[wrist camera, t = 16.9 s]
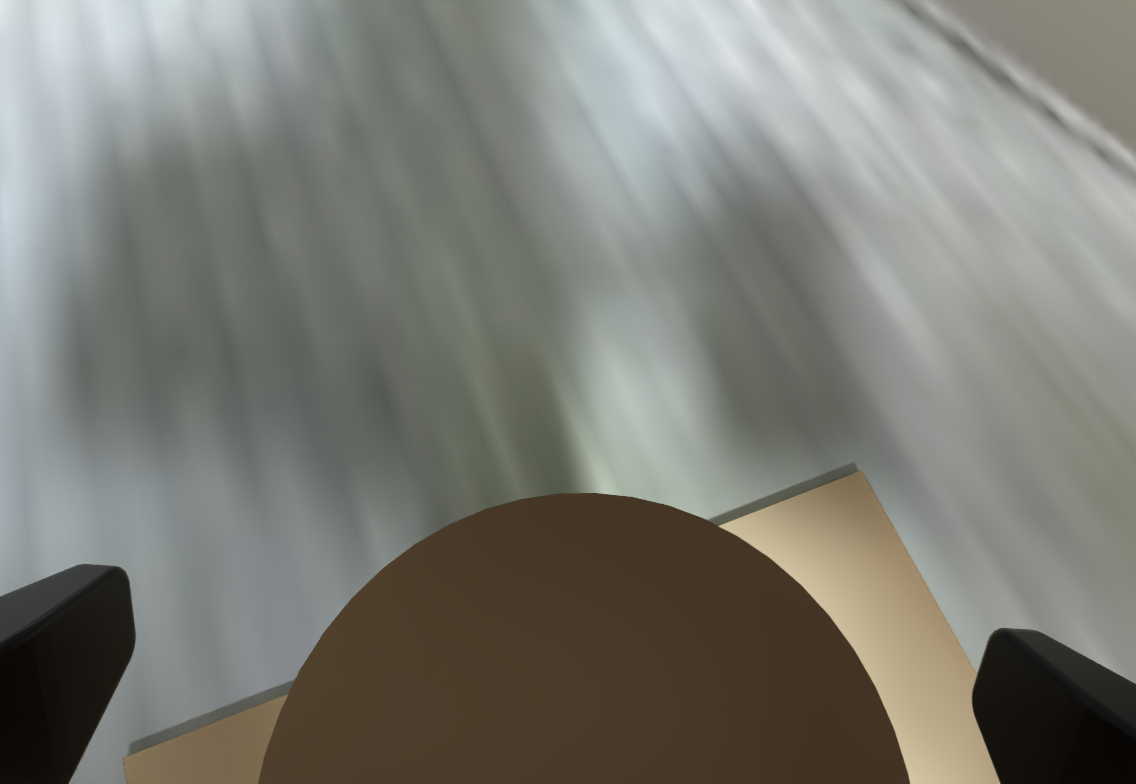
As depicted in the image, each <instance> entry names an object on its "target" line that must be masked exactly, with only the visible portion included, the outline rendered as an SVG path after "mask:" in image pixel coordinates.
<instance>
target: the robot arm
mask: <svg viewBox="0 0 1136 784" xmlns="http://www.w3.org/2000/svg"><path fill="white" fill-rule="evenodd" d="M135 639H136V631H135V623H134V615H133V607H132V599H131V590H130V582H129V578H128V575H127V573H126V571H124V570H123V569H122V568H120V567H118V566H107V565H93V564H81V565H77V566H74V567H72V568H69V569H67V570H64V571H62V572H59V573H57V574H54V575H52V576H49V577H47V578H45V579H42V580H40V581H37V582H35V583H32V584H30V585H27V586H25V587H23V588H20V589H18V590H15V591H13V592H10V593H8V594H5V595H3V596H1V597H0V784H69V782H70V780H71V778H72V776H73V775H74V773H75V771H76V769H77V767H78V764H79V762H80V760H81V758H82V756H83V754H84V752H85V750H86V748H87V746H88V744H89V742H90V740H91V738H92V736H93V734H94V732H95V730H96V728H97V726H98V724H99V722H100V720H101V718H102V716H103V714H104V712H105V710H106V708H107V706H108V704H109V702H110V700H111V698H112V696H113V694H114V692H115V690H116V688H117V686H118V684H119V682H120V680H121V678H122V676H123V674H124V672H125V670H126V668H127V666H128V664H129V662H130V659H131V657H132V654H133V651H134V647H135ZM972 709H973V713H974V717H975V719H976V722H977V725H978V727H979V730H980V732H981V735H982V738H983V740H984V743H985V745H986V748H987V751H988V753H989V756H990V759H991V761H992V764H993V766H994V769H995V772H996V774H997V777H998V779H999V782H1000V784H1136V684H1135V683H1133V682H1131V681H1129V680H1127V679H1126V678H1124V677H1122V676H1120V675H1118V674H1116V673H1115V672H1113V671H1111V670H1109V669H1107V668H1105V667H1104V666H1102V665H1100V664H1098V663H1096V662H1094V661H1093V660H1091V659H1089V658H1087V657H1085V656H1083V655H1082V654H1080V653H1078V652H1076V651H1074V650H1072V649H1071V648H1069V647H1067V646H1065V645H1063V644H1061V643H1060V642H1058V641H1056V640H1054V639H1052V638H1050V637H1049V636H1047V635H1045V634H1043V633H1041V632H1039V631H1035V630H1027V629H1011V628H1000V629H998V630H995V631H994V632H993V633H992V634H991V636H990V637H989V640H988V642H987V645H986V648H985V651H984V655H983V658H982V661H981V664H980V667H979V670H978V673H977V676H976V680H975V683H974V686H973V690H972Z"/></svg>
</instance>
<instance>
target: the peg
mask: <svg viewBox="0 0 1136 784" xmlns="http://www.w3.org/2000/svg"><path fill="white" fill-rule="evenodd" d="M258 784H910V780H909V775H908V771H907V768H906V765H905V762H904V759H903V755H902V752H901V749H900V746H899V743H898V739H897V736H896V733H895V730H894V727H893V725H892V723H891V721H890V718H889V716H888V714H887V711H886V709H885V707H884V705H883V702H882V700H881V698H880V695H879V693H878V691H877V689H876V687H875V685H874V683H873V681H872V680H871V678H870V676H869V674H868V673H867V671H866V669H865V667H864V666H863V664H862V662H861V660H860V659H859V657H858V655H857V654H856V652H855V650H854V649H853V647H852V646H851V644H850V643H849V642H848V640H847V639H846V638H845V636H844V635H843V634H842V632H841V631H840V629H839V628H838V627H837V625H836V624H835V623H834V621H833V620H832V619H831V617H830V616H829V615H828V613H827V612H826V611H825V610H824V609H823V608H822V607H821V606H820V605H819V604H818V603H817V602H816V600H815V599H814V598H813V597H812V596H811V595H810V594H809V593H808V592H807V591H806V590H805V589H804V587H803V586H802V585H801V584H800V583H798V582H797V581H796V580H795V579H794V578H793V577H792V576H790V575H789V574H788V573H787V572H786V571H785V570H783V569H782V568H781V567H780V566H779V565H778V564H776V563H775V562H774V561H773V560H772V559H771V558H769V557H768V556H766V555H765V554H763V553H762V552H760V551H759V550H757V549H756V548H754V547H753V546H752V545H750V544H749V543H747V542H746V541H744V540H743V539H741V538H740V537H738V536H736V535H734V534H733V533H731V532H729V531H727V530H725V529H723V528H721V527H719V526H717V525H715V524H713V523H711V522H709V521H707V520H705V519H703V518H701V517H698V516H695V515H692V514H690V513H687V512H684V511H682V510H679V509H676V508H674V507H671V506H668V505H664V504H660V503H655V502H651V501H647V500H643V499H638V498H634V497H627V496H617V495H608V494H599V493H577V494H554V495H547V496H541V497H534V498H527V499H521V500H517V501H514V502H510V503H506V504H503V505H499V506H496V507H492V508H489V509H485V510H483V511H480V512H478V513H476V514H473V515H471V516H468V517H466V518H464V519H461V520H459V521H457V522H454V523H452V524H449V525H448V526H446V527H444V528H442V529H441V530H439V531H437V532H435V533H434V534H432V535H430V536H429V537H427V538H425V539H423V540H422V541H420V542H418V543H416V544H415V545H413V546H412V547H411V548H409V549H408V550H407V551H405V552H404V553H403V554H401V555H400V556H399V557H398V558H396V559H395V560H394V561H392V562H391V563H390V564H388V565H387V566H386V567H384V568H383V569H382V570H381V571H380V572H379V573H378V574H377V575H376V576H375V577H373V578H372V579H371V580H370V581H369V582H368V583H367V584H366V585H365V586H364V587H363V588H362V589H361V590H360V591H359V592H358V593H357V594H356V595H355V596H354V597H353V598H352V599H351V600H350V601H349V603H348V604H347V605H346V606H345V607H344V609H343V610H342V611H341V612H340V613H339V615H338V616H337V617H336V618H335V620H334V621H333V622H332V623H331V624H330V626H329V627H328V628H327V629H326V631H325V632H324V633H323V635H322V637H321V638H320V640H319V641H318V643H317V644H316V646H315V648H314V649H313V651H312V652H311V654H310V655H309V657H308V658H307V660H306V662H305V663H304V665H303V666H302V668H301V669H300V671H299V673H298V676H297V678H296V680H295V682H294V684H293V686H292V688H291V690H290V692H289V694H288V696H287V698H286V700H285V702H284V704H283V706H282V708H281V710H280V713H279V716H278V718H277V721H276V724H275V727H274V730H273V733H272V735H271V738H270V741H269V744H268V747H267V750H266V753H265V755H264V759H263V763H262V768H261V772H260V776H259V781H258Z"/></svg>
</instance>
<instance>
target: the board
mask: <svg viewBox="0 0 1136 784" xmlns="http://www.w3.org/2000/svg"><path fill="white" fill-rule="evenodd" d="M719 527H721V528H723V529H725V530H727V531H729V532H731V533H733V534H734V535H736V536H738V537H740V538H741V539H743V540H744V541H746V542H747V543H749V544H750V545H752V546H753V547H754V548H756V549H757V550H759V551H760V552H762V553H763V554H765V555H766V556H768V557H769V558H771V559H772V560H773V561H774V562H775V563H776V564H778V565H779V566H780V567H781V568H782V569H783V570H785V571H786V572H787V573H788V574H789V575H790V576H792V577H793V578H794V579H795V580H796V581H797V582H798V583H800V584H801V585H802V586H803V587H804V589H805V590H806V591H807V592H808V593H809V594H810V595H811V596H812V597H813V598H814V599H815V600H816V602H817V603H818V604H819V605H820V606H821V607H822V608H823V609H824V610H825V611H826V612H827V613H828V615H829V616H830V617H831V619H832V620H833V621H834V623H835V624H836V625H837V627H838V628H839V629H840V631H841V632H842V634H843V635H844V636H845V638H846V639H847V640H848V642H849V643H850V644H851V646H852V647H853V649H854V650H855V652H856V654H857V655H858V657H859V659H860V660H861V662H862V664H863V666H864V667H865V669H866V671H867V673H868V674H869V676H870V678H871V680H872V681H873V683H874V685H875V687H876V689H877V691H878V693H879V695H880V698H881V700H882V702H883V705H884V707H885V709H886V711H887V714H888V716H889V718H890V721H891V723H892V725H893V727H894V730H895V733H896V736H897V739H898V743H899V746H900V749H901V752H902V755H903V759H904V762H905V765H906V768H907V771H908V775H909V780H910V784H1000V782H999V779H998V777H997V774H996V772H995V769H994V766H993V764H992V761H991V759H990V756H989V753H988V751H987V748H986V745H985V743H984V740H983V738H982V735H981V732H980V730H979V727H978V725H977V722H976V719H975V717H974V713H973V709H972V690H973V686H974V683H975V680H976V676H977V673H976V671H975V670H974V668H973V666H972V664H971V663H970V661H969V659H968V657H967V656H966V654H965V652H964V650H963V648H962V647H961V645H960V643H959V641H958V640H957V638H956V636H955V634H954V633H953V631H952V629H951V627H950V626H949V624H948V622H947V620H946V618H945V617H944V615H943V613H942V611H941V610H940V608H939V606H938V604H937V603H936V601H935V599H934V597H933V596H932V594H931V592H930V590H929V588H928V587H927V585H926V583H925V581H924V580H923V578H922V576H921V574H920V573H919V571H918V569H917V567H916V565H915V564H914V562H913V560H912V558H911V557H910V555H909V553H908V551H907V550H906V548H905V546H904V544H903V543H902V541H901V539H900V537H899V535H898V534H897V532H896V530H895V528H894V527H893V525H892V523H891V521H890V520H889V518H888V516H887V514H886V512H885V511H884V509H883V507H882V505H881V504H880V502H879V500H878V498H877V497H876V495H875V493H874V491H873V490H872V488H871V486H870V484H869V482H868V481H867V479H866V477H865V475H864V474H863V472H862V470H861V471H859V472H856V473H853V474H851V475H848V476H846V477H843V478H841V479H838V480H835V481H833V482H830V483H828V484H825V485H823V486H820V487H817V488H815V489H812V490H810V491H807V492H805V493H802V494H800V495H797V496H794V497H792V498H789V499H787V500H784V501H782V502H779V503H776V504H774V505H771V506H769V507H766V508H764V509H761V510H758V511H756V512H753V513H751V514H748V515H746V516H743V517H740V518H738V519H735V520H733V521H730V522H728V523H725V524H722V525H720V526H719ZM288 694H289V693H288ZM288 694H286V695H283V696H281V697H278V698H276V699H273V700H270V701H268V702H265V703H263V704H260V705H258V706H255V707H252V708H250V709H247V710H245V711H242V712H240V713H237V714H234V715H232V716H229V717H227V718H224V719H222V720H219V721H216V722H214V723H211V724H209V725H206V726H204V727H201V728H199V729H196V730H193V731H191V732H188V733H186V734H183V735H181V736H178V737H175V738H173V739H170V740H168V741H165V742H163V743H160V744H157V745H155V746H152V747H150V748H147V749H145V750H142V751H139V752H137V753H134V754H132V755H129V756H127V757H124V758H123V764H124V770H125V777H126V783H127V784H258V781H259V776H260V772H261V768H262V763H263V759H264V755H265V753H266V750H267V747H268V744H269V741H270V738H271V735H272V733H273V730H274V727H275V724H276V721H277V718H278V716H279V713H280V710H281V708H282V706H283V704H284V702H285V700H286V698H287V696H288Z"/></svg>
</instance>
